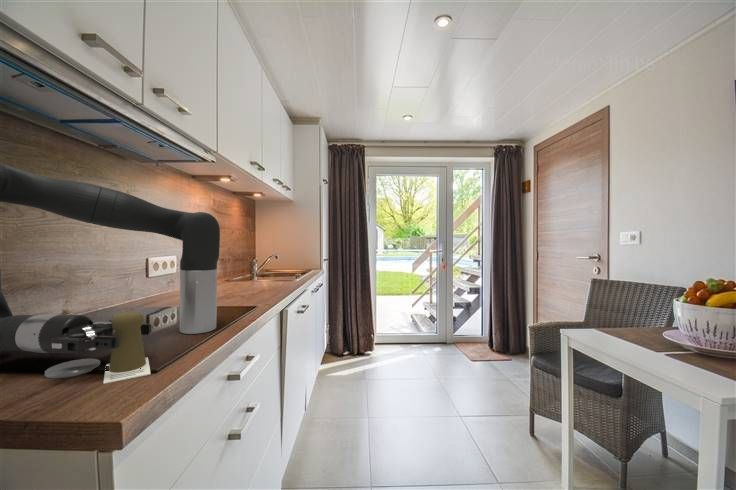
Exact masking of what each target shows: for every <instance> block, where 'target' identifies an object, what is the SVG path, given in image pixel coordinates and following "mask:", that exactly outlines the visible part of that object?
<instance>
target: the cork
mask: <svg viewBox="0 0 736 490" xmlns="http://www.w3.org/2000/svg"><path fill="white" fill-rule="evenodd" d="M144 319H145V318H144V314H143V313H142V312H140V311H136V310H135V311H134V310H129V311H122V312H118V313H116V314H114V316H112V319H111V320H112V321H111V325H112V328H113V329H114V330H115V332H114V333H113V335H114V336H118V337H119V347H118V348H115V349H111V352H110V353H111V354H110V359H109V364H110V365H109V371H110V372H114V373H120V372H127V371H132V370H136V369H138V368H141V367H143V366H144V365H145V364H146V360H145V358H146V354H145V348H144V343H143V337H142V336H143V335H141V329H140V327H141V326H142V324H144Z"/></svg>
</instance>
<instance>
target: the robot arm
mask: <svg viewBox="0 0 736 490" xmlns="http://www.w3.org/2000/svg"><path fill="white" fill-rule="evenodd" d="M0 203H5V204H6V203H7V204H14V205H18V206H26V207H31V208H35V209H39V210H43V211H46V212H49V213H52V214H55V215H57V216H61V217H65V218H68V219H72V220H75V221H78V222H82V223H87V224H90V225H96V226H100V227H107V228H111V229H119V230H123V231H124V230H125V231H132V232H143V233H145V232H146V233H152V234H153V233H154V234H158V235H163V236H166V237H170V238H173V239H176V240H179V241H182V249H181V250H182V252H181V253H182V254H181V258H180V260H179V332H180V333H182V334H187V335H192V334H193V335H194V334H195V335H196V334H197V335H198V334H204V333H209V332H211V331H214V330H216V329H217V316H218V315H217V314H218V313H217V311H218V310H217V307H218V305H217V304H218V303H217V302H218V297H217V293H218V261H219V258H220V243H221V242H220V241H221V229H220V228H221V226H220V224H219V222H218V220H217V219H216V217H215V216H214V215H212V214H210V213H208V212H203V211H196V212H186V211H182V210H175V209H172V208H167V207H162V206H159V205H158V204H154V203H152V202H150V201H147V200H145V199H143V198H140V197H138V196H135V195H133V194H129V193H127V192H126V193H125V192H123V191H119V190H116V189H112V188H109V187H104V186H101V185H97V184H92V183H87V182H81V181H75V180H69V179H61V178H53V177H48V176H44V175H39V174H35V173H32V172H29V171H27V170H23V169H20V168H16V167H13V166H10V165H8V164H4V163H3V162H0ZM111 321H112V319H110V320H109V321H107V322H104V321H97V322H93V321H92V319H91V318H90V317H89V316H86V315H84V314H53V313H52V314H51V313H47V314H39V315H38V314H16V315H15V314H13V312H12V310H11V308H10V307H9V304H8V302H7V300H6V297H5V295H4V293H3V290H2V273H1V269H0V351H2V352H3V351H13V352H15V351H16V352H31V353H41V354H68V355H69V354H76V355H78V354H79V355H82V354H83V353H85V352H86V350H87V351H96V350H97V349H100V350H101V349H105V350H110V349H111V350H112V349H115V348H118V347H119V337H118V336H114V333H115V330H114V329H113V328H112V325H111ZM140 329H141V335H142V336H148V335H150V334H151V333H152V324H151V323H143V324H142V326H141V327H140Z"/></svg>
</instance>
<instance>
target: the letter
mask: <svg viewBox="0 0 736 490" xmlns="http://www.w3.org/2000/svg"><path fill="white" fill-rule="evenodd" d="M145 360H146V364H145V365H144V366H143V367H141V369H140V368H138V369H136V370H132V371H127V372H120V373H114V372H110V371H105V370H104V377H103V382H102V384H103V385H106V384H110V383H115V382H119V381H120V382H121V381H125V380H129V379H136V378H140V377H146V376H150V375H152V374H151V367H150V361H149V357H146V356H145ZM109 365H110V363H106V365H105V367H106V366H109Z"/></svg>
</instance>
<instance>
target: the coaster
mask: <svg viewBox="0 0 736 490" xmlns="http://www.w3.org/2000/svg"><path fill="white" fill-rule="evenodd" d="M99 365H100V366H101V360H100V359H98V358H80V359H74V360H69V361H64V362H61V363H58V364H55V365H53V366H50V367H48V368H47V369H46V370H44V377H45V378H47V379H65V378H72V377H76V376H81V375H84V374H87V373H90V372H93V371H94V370H93V369H94V368H96V367H98V366H99ZM100 366H99V367H100ZM99 367H98V368H99ZM92 370H93V371H92Z"/></svg>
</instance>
